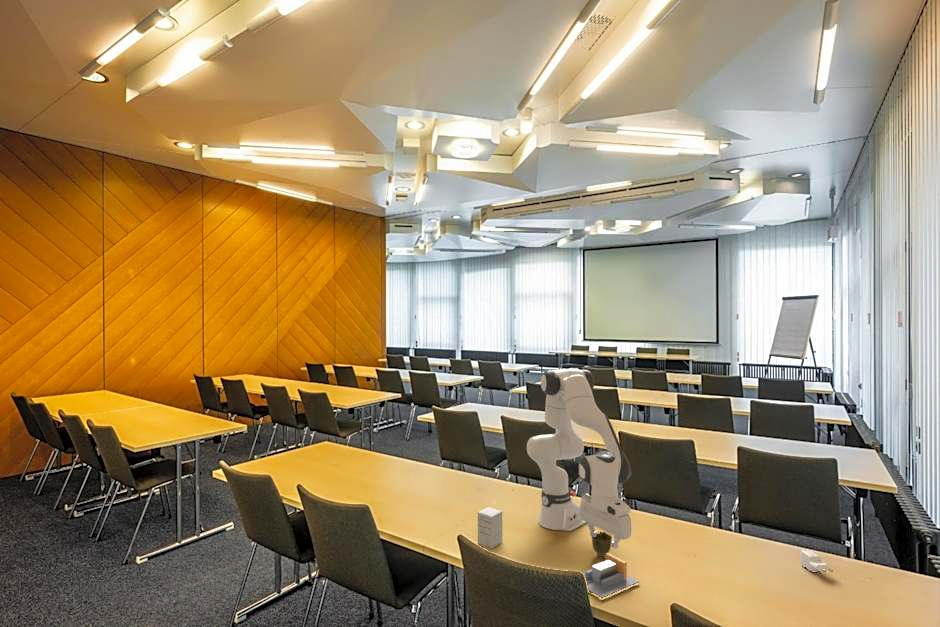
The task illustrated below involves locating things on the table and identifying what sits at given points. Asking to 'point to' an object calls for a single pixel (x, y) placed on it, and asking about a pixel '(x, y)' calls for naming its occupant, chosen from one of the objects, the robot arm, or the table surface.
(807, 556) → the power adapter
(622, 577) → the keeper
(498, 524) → the supplement box
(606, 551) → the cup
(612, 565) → the link block
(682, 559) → the table surface
